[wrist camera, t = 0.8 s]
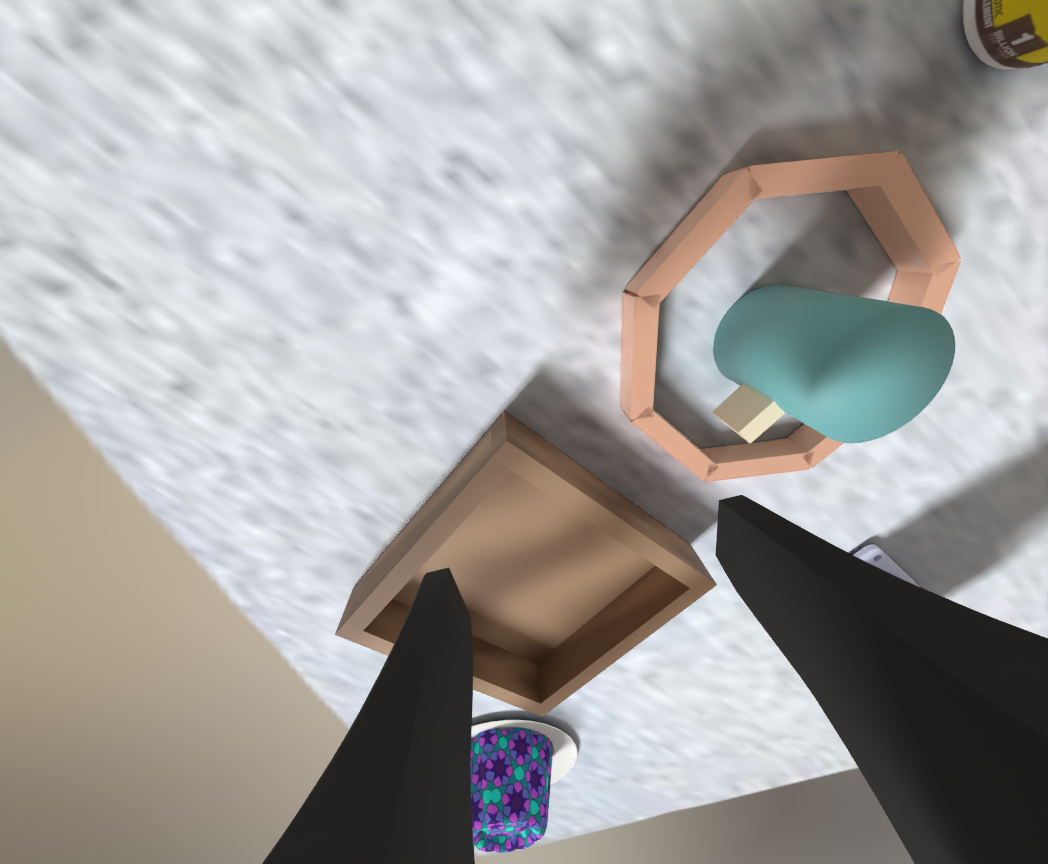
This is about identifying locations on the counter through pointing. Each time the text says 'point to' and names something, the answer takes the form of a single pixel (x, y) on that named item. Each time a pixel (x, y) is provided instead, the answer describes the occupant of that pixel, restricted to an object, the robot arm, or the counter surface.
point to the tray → (532, 569)
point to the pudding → (515, 781)
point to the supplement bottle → (1007, 32)
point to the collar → (868, 179)
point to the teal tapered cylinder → (829, 362)
